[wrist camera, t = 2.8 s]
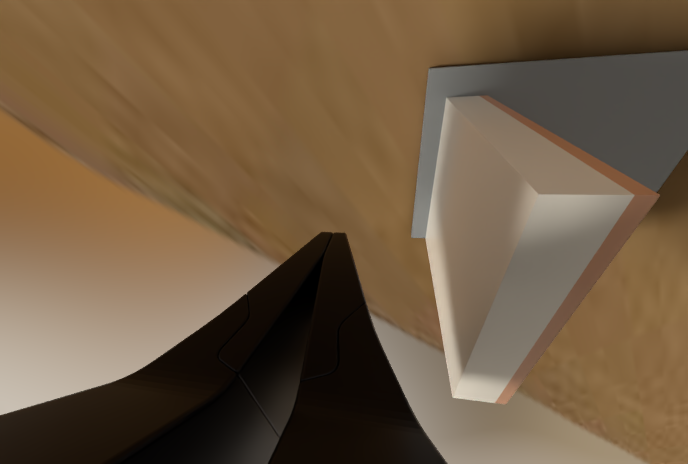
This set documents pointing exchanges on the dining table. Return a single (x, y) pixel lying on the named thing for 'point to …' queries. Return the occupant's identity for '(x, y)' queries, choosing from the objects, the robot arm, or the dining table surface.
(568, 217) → the tile
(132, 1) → the dining table surface
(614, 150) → the mat
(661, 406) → the dining table surface
